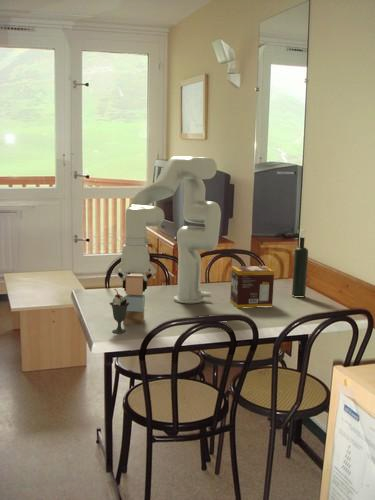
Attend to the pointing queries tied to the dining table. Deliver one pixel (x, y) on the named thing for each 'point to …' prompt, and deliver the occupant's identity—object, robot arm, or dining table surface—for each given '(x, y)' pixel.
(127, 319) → the block bottom
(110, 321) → the dining table surface
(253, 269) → the supplement box
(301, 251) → the wine bottle
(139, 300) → the block top
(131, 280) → the cube
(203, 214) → the robot arm
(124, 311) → the sundae
